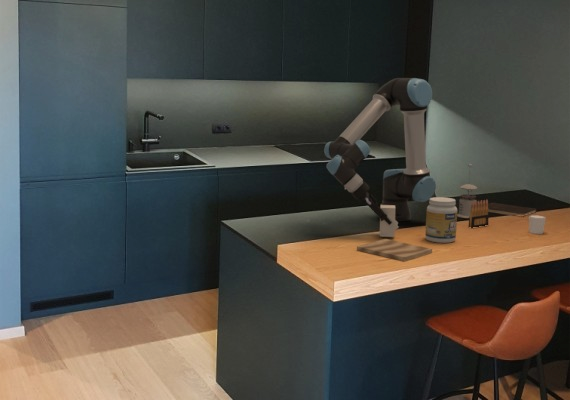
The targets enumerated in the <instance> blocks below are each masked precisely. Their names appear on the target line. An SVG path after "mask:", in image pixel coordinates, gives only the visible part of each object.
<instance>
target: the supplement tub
mask: <svg viewBox="0 0 570 400" xmlns="http://www.w3.org/2000/svg"><path fill="white" fill-rule="evenodd" d="M428 202H429V204H428V205H427V207H426V218H425V234H424V235H425V237H424V238H425V239H426V240H427V241H429V242H433V243H437V244H438V243H439V244H448V243H453V242H455V241H456V239H457V238H456V237H457V225H458V223H457V222H458V221H457V220H458V216H457V214H458V208H457V206H456V205H457V203H456V199H455V198H452V197H451V198H450V197H442V196H441V197H437V196H436V197H431V198H430V199H429V200H428Z"/></svg>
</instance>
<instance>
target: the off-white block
mask: <svg viewBox="0 0 570 400" xmlns="http://www.w3.org/2000/svg"><path fill="white" fill-rule="evenodd" d="M380 208H381V209H382V210H383V212H384V213H385V214H386V215H387V216H389V217H390V218H391V219H392V220H393V221H394V222H395V205H380ZM395 231H396V230H395ZM395 231H393V230H392V229H391V228H390V227H389V226H388V225H387V224H386V223H385V222H384V221H381V219H379V237H383V238H385V237H386V238H395V235H396V233H395Z"/></svg>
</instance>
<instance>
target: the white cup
mask: <svg viewBox="0 0 570 400" xmlns="http://www.w3.org/2000/svg"><path fill="white" fill-rule="evenodd" d="M546 219H547V217H546V216H543V215H536V214H535V215H534V214H533V215H532V214H530V215H528V232H529V233H530V234H534V235H542V234H544V230H545V223H546Z"/></svg>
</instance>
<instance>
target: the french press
mask: <svg viewBox="0 0 570 400" xmlns="http://www.w3.org/2000/svg"><path fill="white" fill-rule="evenodd" d="M467 167H473V164H472V163H468V165H467ZM470 175H471V171H469V175H468V180H470ZM460 189H462V190H466V191H467V194H460V198H459V200H458V201H459V203H458V205H459V206H458V213H457V218H463V219H469V216H470V211H471V205H472V202H474V203H475V201H476V202H478V201H477V196H476V195H475V194H474V195H473V194H470V193H473V191H474V190H478V187H477V186H476V185H474V184H471V183H465V184H463V185H461V186H460Z"/></svg>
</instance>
